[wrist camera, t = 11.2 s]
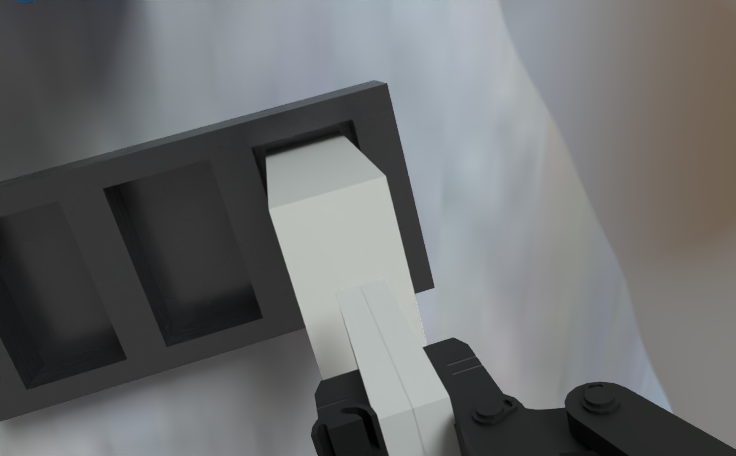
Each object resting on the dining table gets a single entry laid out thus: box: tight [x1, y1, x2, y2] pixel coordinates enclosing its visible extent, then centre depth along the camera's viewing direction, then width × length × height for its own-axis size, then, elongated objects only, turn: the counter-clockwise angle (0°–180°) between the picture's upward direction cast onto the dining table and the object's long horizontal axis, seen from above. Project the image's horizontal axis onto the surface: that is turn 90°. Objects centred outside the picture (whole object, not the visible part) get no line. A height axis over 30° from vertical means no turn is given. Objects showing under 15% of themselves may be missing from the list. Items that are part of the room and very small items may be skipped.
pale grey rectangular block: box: [266, 132, 427, 380], centre depth 26 cm, size 7×4×12 cm, turn 14°
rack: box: [0, 81, 435, 421], centre depth 30 cm, size 11×23×4 cm, turn 104°
